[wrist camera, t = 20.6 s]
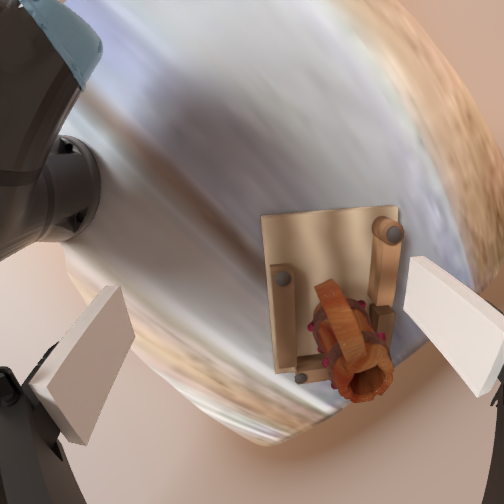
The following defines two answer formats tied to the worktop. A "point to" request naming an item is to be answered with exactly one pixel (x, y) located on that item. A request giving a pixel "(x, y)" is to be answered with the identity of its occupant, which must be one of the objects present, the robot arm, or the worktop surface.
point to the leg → (384, 260)
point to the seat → (317, 278)
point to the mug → (350, 345)
